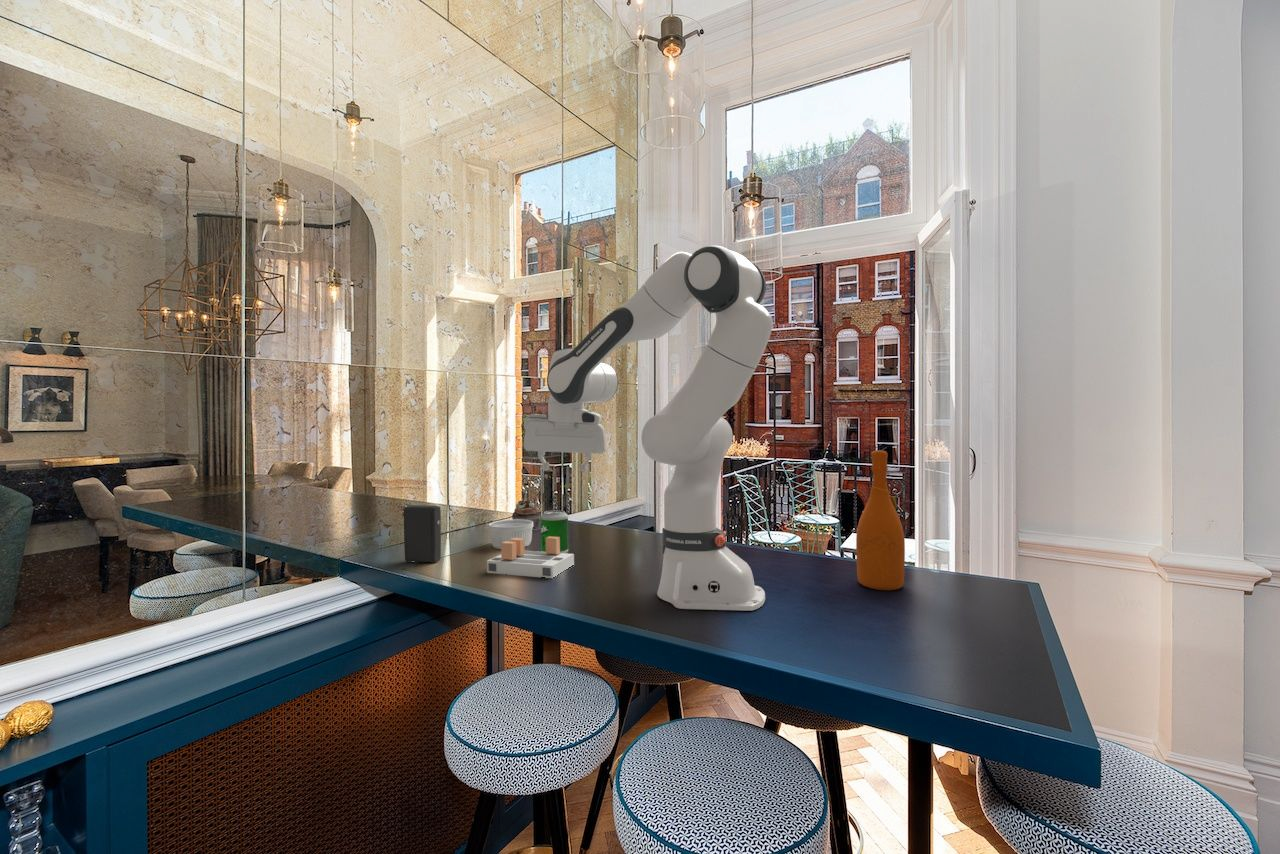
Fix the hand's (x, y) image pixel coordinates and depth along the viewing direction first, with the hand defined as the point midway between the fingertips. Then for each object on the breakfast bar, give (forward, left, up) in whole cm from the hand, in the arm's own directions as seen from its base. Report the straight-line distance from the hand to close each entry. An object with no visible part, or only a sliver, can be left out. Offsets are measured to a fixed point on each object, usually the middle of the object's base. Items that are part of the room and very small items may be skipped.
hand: (564, 470), depth 135 cm
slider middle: (+13, +1, -22) cm, 25 cm away
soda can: (+10, -14, -25) cm, 31 cm away
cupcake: (+36, -44, -25) cm, 62 cm away
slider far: (+5, -3, -22) cm, 22 cm away
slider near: (+13, +5, -22) cm, 26 cm away
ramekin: (+28, -21, -25) cm, 43 cm away
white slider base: (+9, +1, -25) cm, 27 cm away
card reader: (+41, +2, -25) cm, 48 cm away
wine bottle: (-73, -8, -25) cm, 78 cm away
